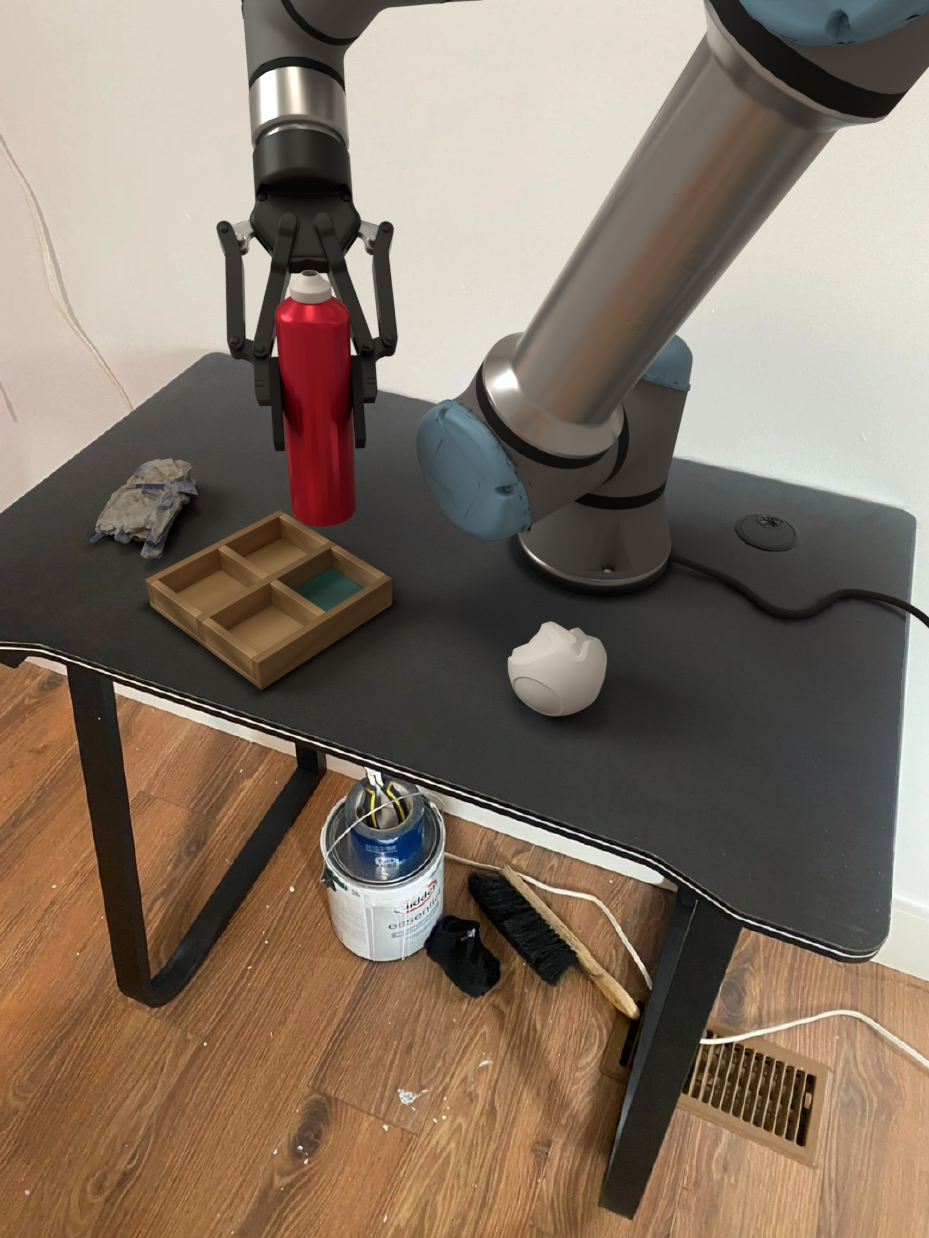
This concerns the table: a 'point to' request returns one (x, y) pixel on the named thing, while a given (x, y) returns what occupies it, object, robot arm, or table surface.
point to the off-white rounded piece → (558, 670)
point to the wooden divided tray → (269, 596)
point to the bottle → (317, 401)
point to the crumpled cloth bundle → (148, 505)
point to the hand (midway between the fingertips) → (320, 444)
